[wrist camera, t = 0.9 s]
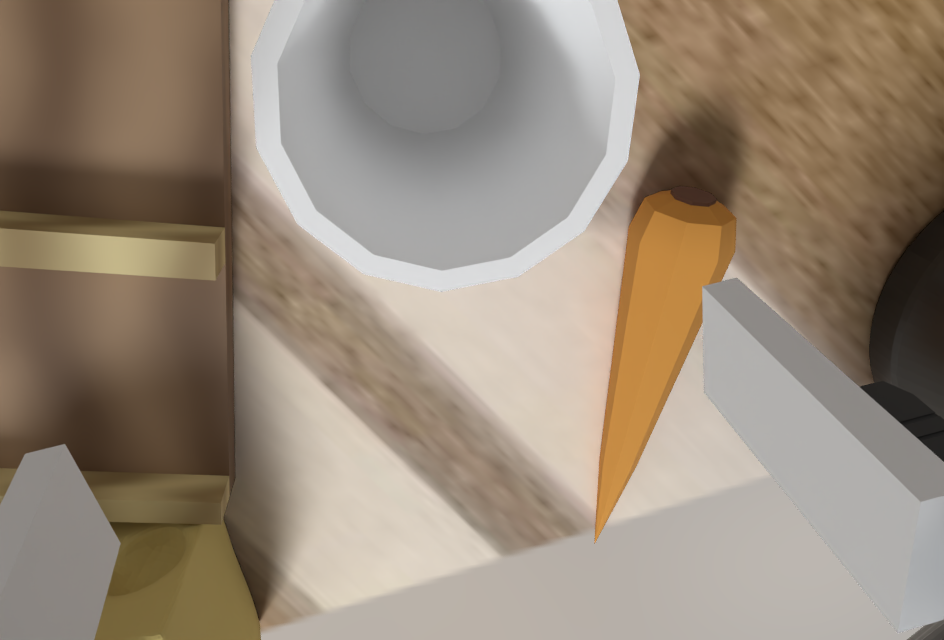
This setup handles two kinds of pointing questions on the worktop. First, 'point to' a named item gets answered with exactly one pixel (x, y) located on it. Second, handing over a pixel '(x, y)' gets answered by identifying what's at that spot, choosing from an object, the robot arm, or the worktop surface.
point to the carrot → (657, 321)
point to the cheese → (177, 586)
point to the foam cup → (444, 128)
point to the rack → (119, 250)
